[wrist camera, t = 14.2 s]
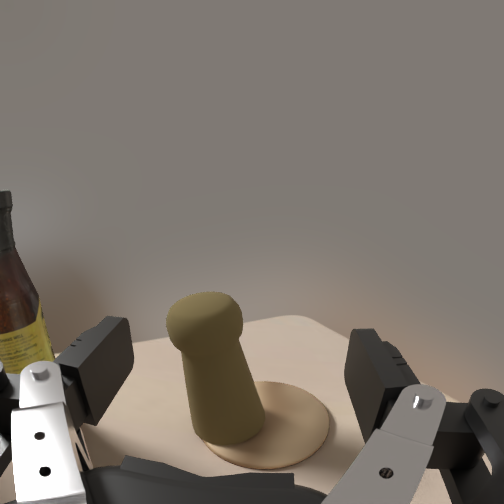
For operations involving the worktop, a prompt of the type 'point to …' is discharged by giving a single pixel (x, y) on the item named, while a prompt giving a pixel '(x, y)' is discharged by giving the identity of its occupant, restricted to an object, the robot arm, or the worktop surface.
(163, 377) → the worktop surface
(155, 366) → the worktop surface
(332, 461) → the worktop surface
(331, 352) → the worktop surface
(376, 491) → the robot arm
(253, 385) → the pepper shaker
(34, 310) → the sauce bottle
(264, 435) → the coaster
